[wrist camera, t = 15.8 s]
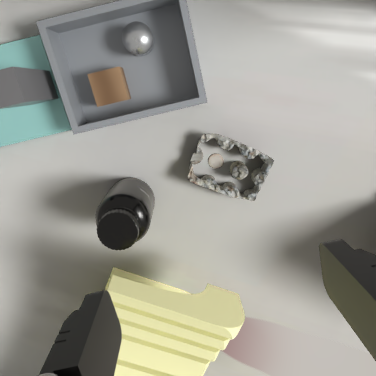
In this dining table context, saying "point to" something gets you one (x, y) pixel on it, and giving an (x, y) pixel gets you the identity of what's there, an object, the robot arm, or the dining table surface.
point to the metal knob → (138, 38)
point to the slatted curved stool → (170, 325)
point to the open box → (124, 60)
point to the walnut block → (109, 86)
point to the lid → (28, 93)
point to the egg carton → (231, 168)
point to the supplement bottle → (125, 213)
